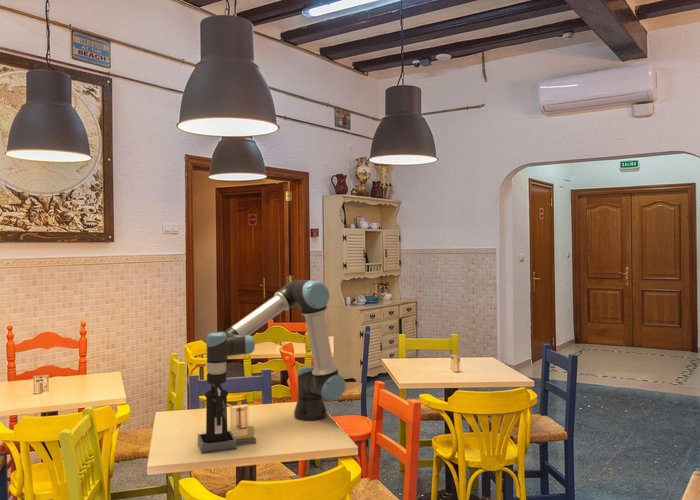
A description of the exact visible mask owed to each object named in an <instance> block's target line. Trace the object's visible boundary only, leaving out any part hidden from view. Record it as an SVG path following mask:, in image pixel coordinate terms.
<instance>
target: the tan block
mask: <svg viewBox="0 0 700 500" xmlns="http://www.w3.org/2000/svg"><path fill="white" fill-rule="evenodd" d="M233 437H235V439H236V440H243V439H252V438H255V426H254V425H247V426H246V434H240V435H234V436H233Z"/></svg>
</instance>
